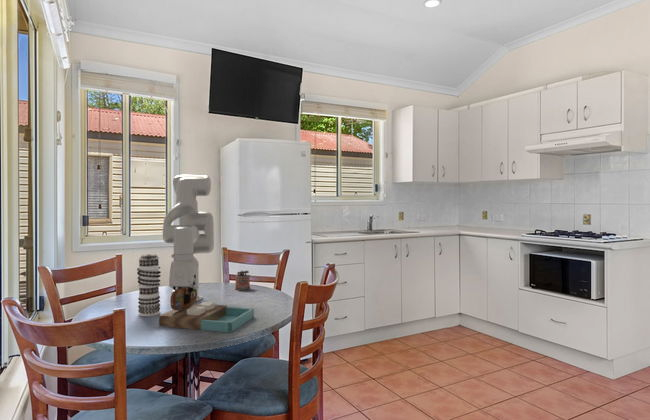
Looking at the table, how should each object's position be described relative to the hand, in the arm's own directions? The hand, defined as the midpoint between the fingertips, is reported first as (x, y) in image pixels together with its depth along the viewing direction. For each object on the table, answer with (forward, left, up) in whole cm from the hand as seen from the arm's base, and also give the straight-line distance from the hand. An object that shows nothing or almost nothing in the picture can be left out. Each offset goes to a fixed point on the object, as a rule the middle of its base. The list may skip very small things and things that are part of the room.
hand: (183, 302), depth 165 cm
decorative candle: (-19, +4, -7) cm, 21 cm away
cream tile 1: (+8, -4, -3) cm, 9 cm away
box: (+20, 0, -7) cm, 21 cm away
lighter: (-2, +58, -7) cm, 58 cm away
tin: (0, 0, -2) cm, 2 cm away
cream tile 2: (+8, +3, -3) cm, 9 cm away
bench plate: (+5, 0, -7) cm, 8 cm away
